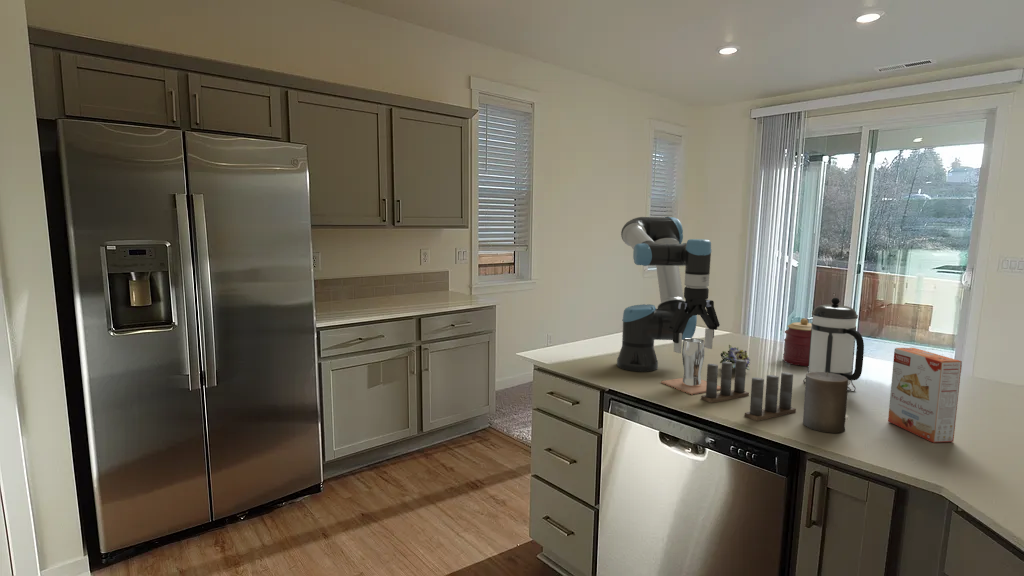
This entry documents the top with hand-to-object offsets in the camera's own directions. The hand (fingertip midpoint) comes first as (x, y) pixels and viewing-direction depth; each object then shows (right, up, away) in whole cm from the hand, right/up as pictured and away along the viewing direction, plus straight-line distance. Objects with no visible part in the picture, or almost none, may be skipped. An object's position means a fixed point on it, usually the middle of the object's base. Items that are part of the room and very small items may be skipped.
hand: (693, 350), depth 170 cm
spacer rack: (+10, -14, -17) cm, 25 cm away
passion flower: (+21, -10, +19) cm, 30 cm away
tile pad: (0, -12, +1) cm, 12 cm away
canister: (+54, -9, +32) cm, 63 cm away
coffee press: (+46, -13, 0) cm, 48 cm away
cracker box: (+46, -17, -37) cm, 61 cm away
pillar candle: (+23, -16, -33) cm, 44 cm away
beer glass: (0, -12, +1) cm, 12 cm away
